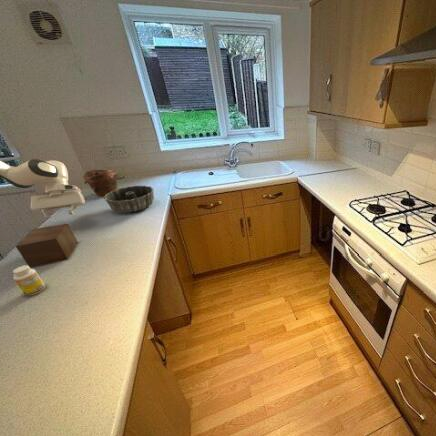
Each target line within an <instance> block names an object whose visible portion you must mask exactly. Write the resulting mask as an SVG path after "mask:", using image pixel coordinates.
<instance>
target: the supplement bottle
mask: <svg viewBox="0 0 436 436" xmlns="http://www.w3.org/2000/svg"><path fill="white" fill-rule="evenodd" d="M12 273H13V280H14V281H15V283H16V284H17V286H18V287H19V289H20V290H21V292H23V294H24V295H25V296H34V295H36V294H39V293H41V292H42V291H43V290H45V288H46V284H45V283H44V281H43V280H42V279H41V277H40V275H39V274H38V272H37V271H36V269H34V268H31V267H29V266H28V264H27V265H22V266H21V265H20V266H19V267H16V268H14V269H13V270H12Z"/></svg>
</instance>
